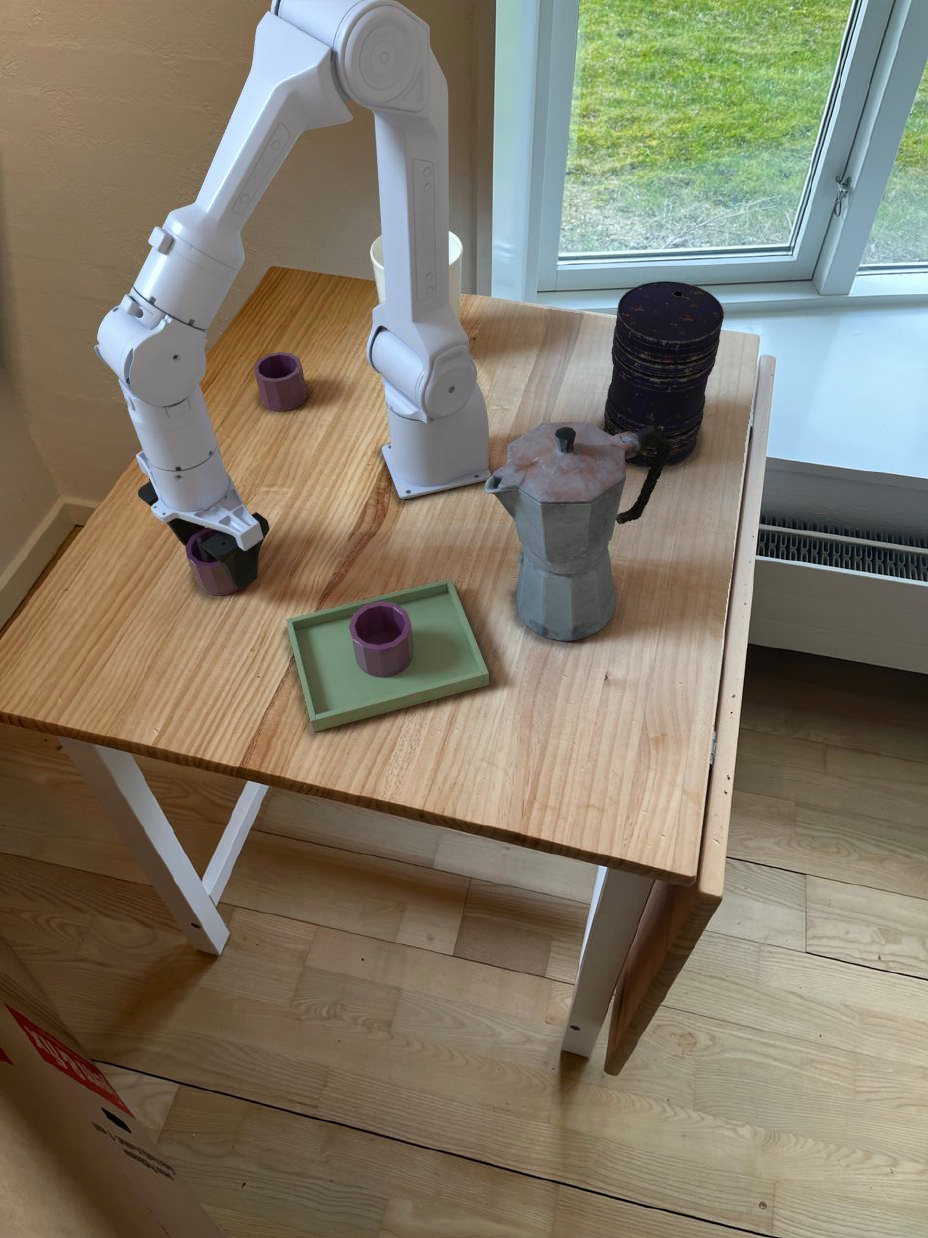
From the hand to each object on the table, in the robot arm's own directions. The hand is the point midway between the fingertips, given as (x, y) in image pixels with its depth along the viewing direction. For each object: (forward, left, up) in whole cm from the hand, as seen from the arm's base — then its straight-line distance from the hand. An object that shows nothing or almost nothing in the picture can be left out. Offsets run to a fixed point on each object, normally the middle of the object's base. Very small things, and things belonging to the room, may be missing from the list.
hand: (220, 561), depth 87 cm
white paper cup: (-27, -28, -2) cm, 39 cm away
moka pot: (-29, +13, -2) cm, 32 cm away
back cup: (-10, -24, -2) cm, 26 cm away
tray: (-12, +14, -2) cm, 19 cm away
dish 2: (-12, +14, -1) cm, 18 cm away
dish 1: (0, 0, -2) cm, 2 cm away
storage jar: (-45, -5, -2) cm, 45 cm away
